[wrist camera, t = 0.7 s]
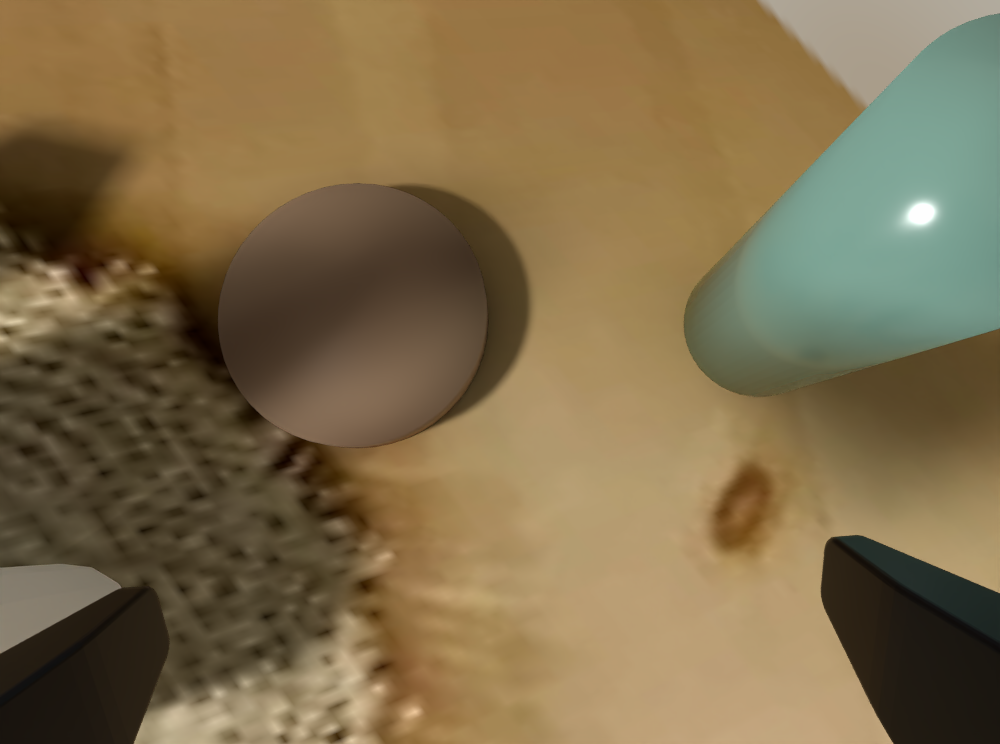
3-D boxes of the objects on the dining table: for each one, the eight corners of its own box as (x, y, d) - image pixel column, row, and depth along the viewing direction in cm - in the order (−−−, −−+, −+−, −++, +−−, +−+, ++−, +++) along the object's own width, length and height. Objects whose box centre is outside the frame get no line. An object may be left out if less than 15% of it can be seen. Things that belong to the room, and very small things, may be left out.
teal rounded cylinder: (855, 352, 22) (1270, 205, 10) (733, 423, 22) (1007, 360, 10) (776, 233, 23) (1074, -39, 11) (657, 300, 23) (824, 98, 11)
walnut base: (534, 368, 23) (536, 361, 21) (306, 495, 22) (291, 497, 21) (414, 159, 24) (407, 138, 22) (195, 275, 23) (173, 261, 22)
